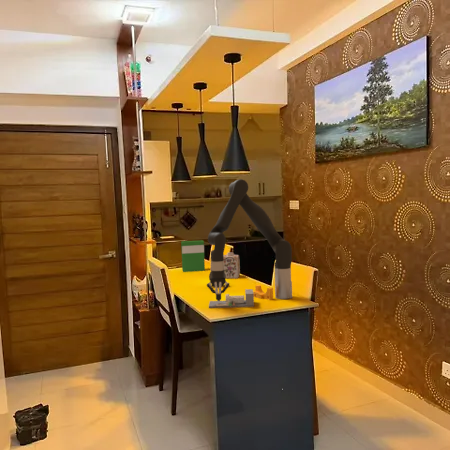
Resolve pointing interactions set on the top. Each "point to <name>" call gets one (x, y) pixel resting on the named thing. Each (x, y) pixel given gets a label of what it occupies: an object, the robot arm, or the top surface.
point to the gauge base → (247, 303)
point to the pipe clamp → (261, 294)
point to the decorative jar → (232, 265)
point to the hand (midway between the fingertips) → (218, 300)
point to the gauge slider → (234, 299)
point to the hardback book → (192, 256)
